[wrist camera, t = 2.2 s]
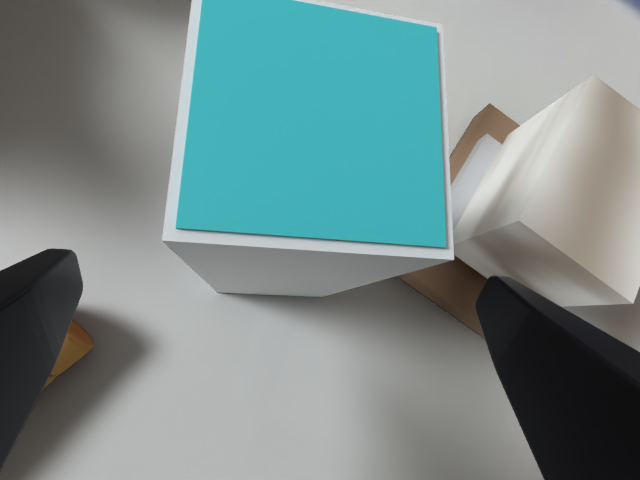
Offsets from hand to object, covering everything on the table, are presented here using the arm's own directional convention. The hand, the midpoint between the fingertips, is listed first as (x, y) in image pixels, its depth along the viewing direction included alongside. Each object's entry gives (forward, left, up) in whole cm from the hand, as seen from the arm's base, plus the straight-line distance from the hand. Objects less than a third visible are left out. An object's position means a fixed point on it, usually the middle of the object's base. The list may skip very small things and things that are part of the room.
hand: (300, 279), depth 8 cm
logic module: (+2, -1, -10) cm, 10 cm away
